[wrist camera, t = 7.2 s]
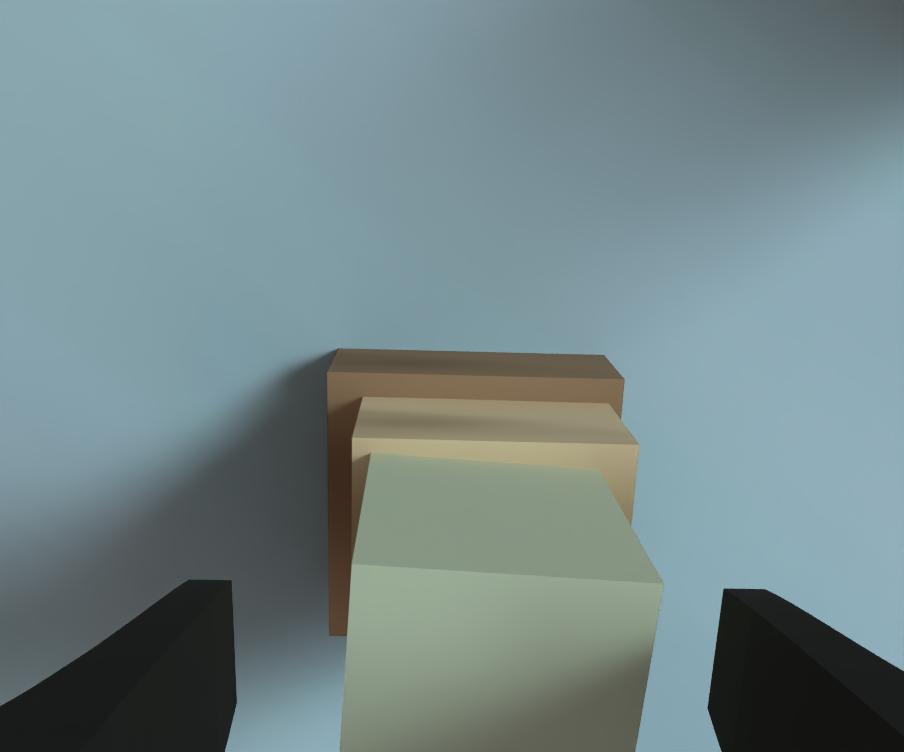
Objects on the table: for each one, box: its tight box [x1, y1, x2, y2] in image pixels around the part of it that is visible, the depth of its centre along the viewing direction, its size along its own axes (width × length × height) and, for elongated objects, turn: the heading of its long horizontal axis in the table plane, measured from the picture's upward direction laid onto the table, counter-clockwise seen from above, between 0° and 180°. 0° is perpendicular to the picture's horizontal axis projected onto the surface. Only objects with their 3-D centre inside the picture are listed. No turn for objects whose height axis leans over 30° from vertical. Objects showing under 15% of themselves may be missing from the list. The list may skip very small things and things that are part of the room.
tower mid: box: [351, 397, 639, 568], centre depth 16 cm, size 5×5×2 cm
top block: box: [340, 453, 664, 752], centre depth 13 cm, size 4×4×4 cm
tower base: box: [327, 349, 625, 636], centre depth 18 cm, size 6×6×2 cm
